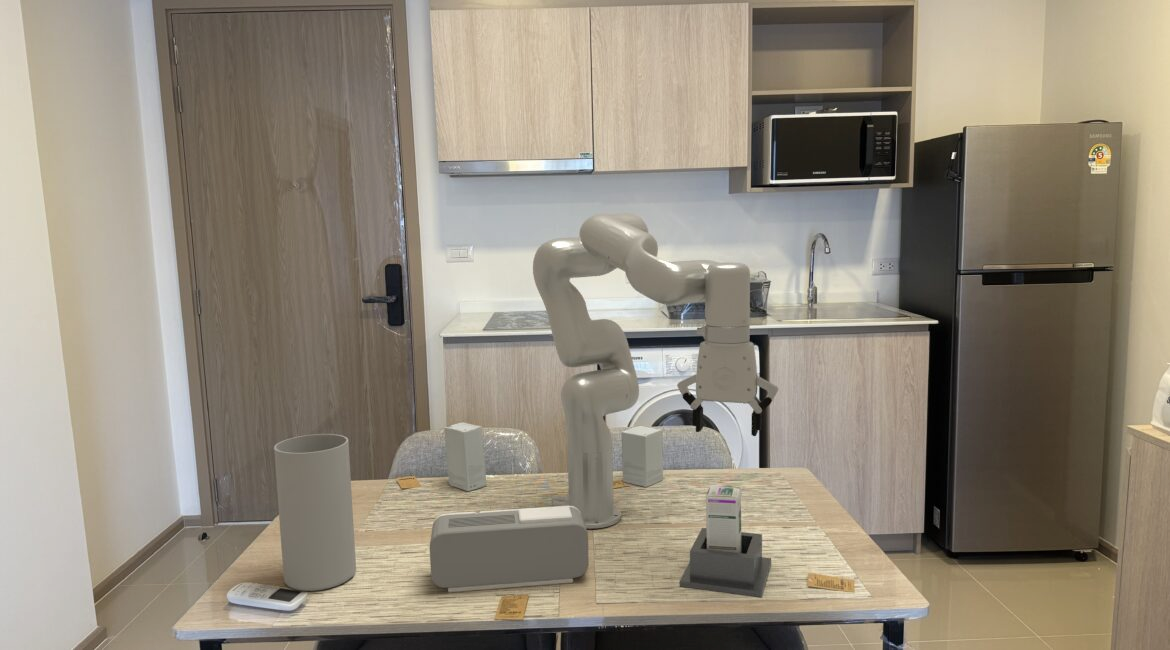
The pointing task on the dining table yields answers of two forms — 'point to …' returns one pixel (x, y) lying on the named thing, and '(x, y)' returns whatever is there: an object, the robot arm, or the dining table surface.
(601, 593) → the dining table surface
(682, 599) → the dining table surface
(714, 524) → the syrup box
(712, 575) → the socket
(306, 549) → the cylinder vase
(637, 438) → the supplement box
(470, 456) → the skincare box
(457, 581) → the grey rounded block
